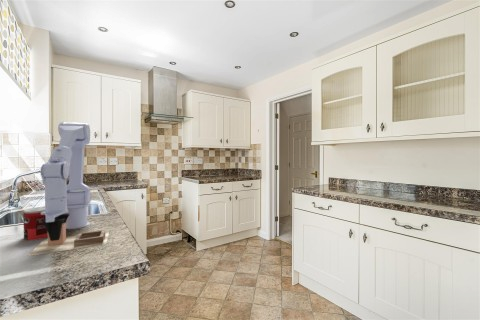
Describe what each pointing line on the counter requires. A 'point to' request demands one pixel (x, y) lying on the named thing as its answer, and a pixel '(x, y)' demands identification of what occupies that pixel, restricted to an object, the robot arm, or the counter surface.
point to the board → (73, 242)
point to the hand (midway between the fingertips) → (57, 237)
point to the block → (62, 236)
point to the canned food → (34, 224)
